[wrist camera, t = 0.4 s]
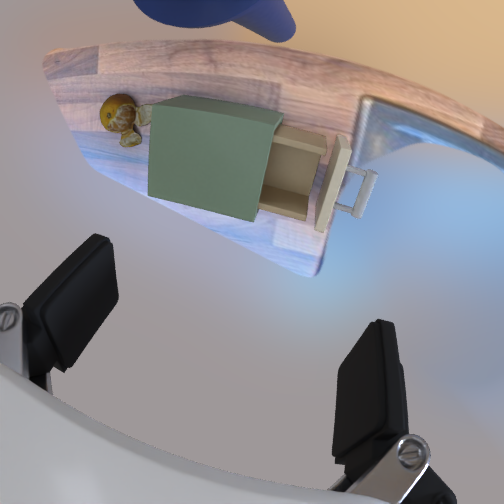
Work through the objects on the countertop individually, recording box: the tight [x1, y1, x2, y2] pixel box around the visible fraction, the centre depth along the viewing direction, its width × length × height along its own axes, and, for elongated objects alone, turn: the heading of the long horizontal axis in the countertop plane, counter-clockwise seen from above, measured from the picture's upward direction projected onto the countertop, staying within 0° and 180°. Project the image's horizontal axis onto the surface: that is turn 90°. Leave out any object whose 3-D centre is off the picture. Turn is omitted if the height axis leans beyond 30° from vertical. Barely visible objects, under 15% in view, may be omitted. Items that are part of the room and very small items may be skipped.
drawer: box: [257, 124, 378, 233], centre depth 35 cm, size 17×10×7 cm, turn 79°
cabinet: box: [148, 95, 284, 222], centre depth 36 cm, size 14×12×9 cm
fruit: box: [100, 94, 152, 147], centre depth 37 cm, size 8×8×4 cm
